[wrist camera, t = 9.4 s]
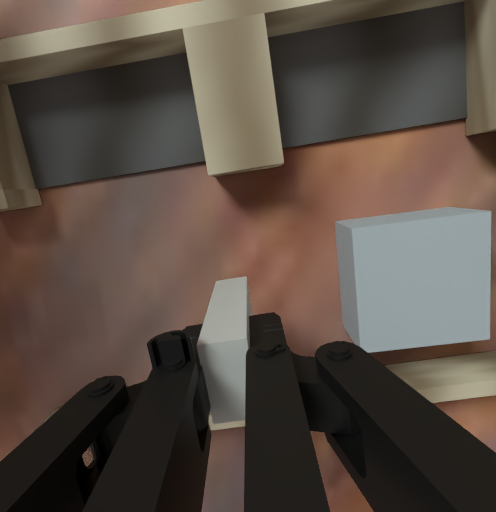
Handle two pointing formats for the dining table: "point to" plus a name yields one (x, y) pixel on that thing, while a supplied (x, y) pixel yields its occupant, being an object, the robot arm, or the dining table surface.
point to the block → (415, 278)
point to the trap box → (245, 100)
